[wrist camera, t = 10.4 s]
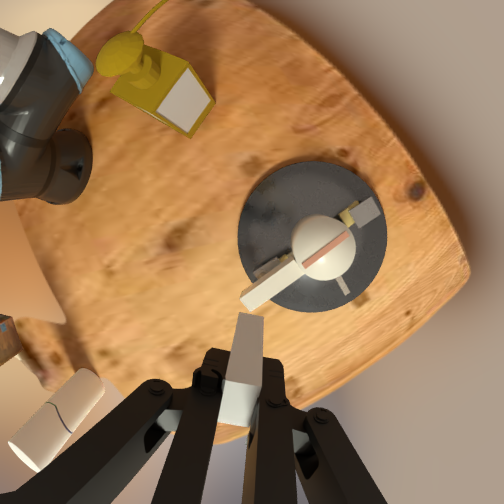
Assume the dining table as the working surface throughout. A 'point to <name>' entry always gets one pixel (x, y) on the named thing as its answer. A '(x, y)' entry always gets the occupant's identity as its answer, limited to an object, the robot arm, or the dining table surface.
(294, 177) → the post base
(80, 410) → the container
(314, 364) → the dining table surface
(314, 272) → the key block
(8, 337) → the milk carton
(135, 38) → the soap bottle
